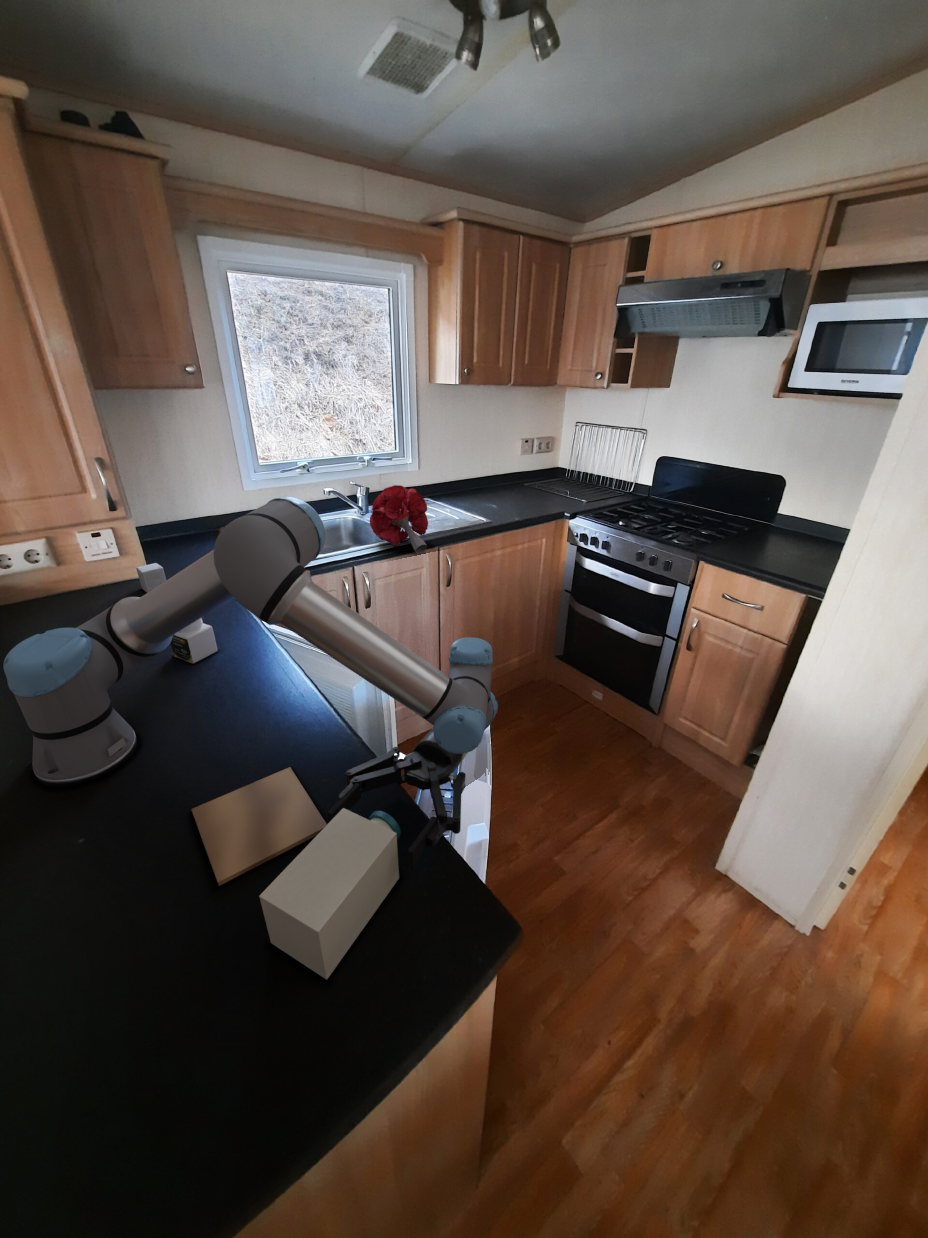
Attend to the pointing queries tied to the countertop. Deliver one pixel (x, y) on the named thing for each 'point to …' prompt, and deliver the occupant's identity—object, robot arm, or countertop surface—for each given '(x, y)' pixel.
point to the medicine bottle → (194, 642)
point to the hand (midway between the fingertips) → (368, 838)
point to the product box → (151, 576)
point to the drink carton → (332, 889)
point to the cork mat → (256, 824)
